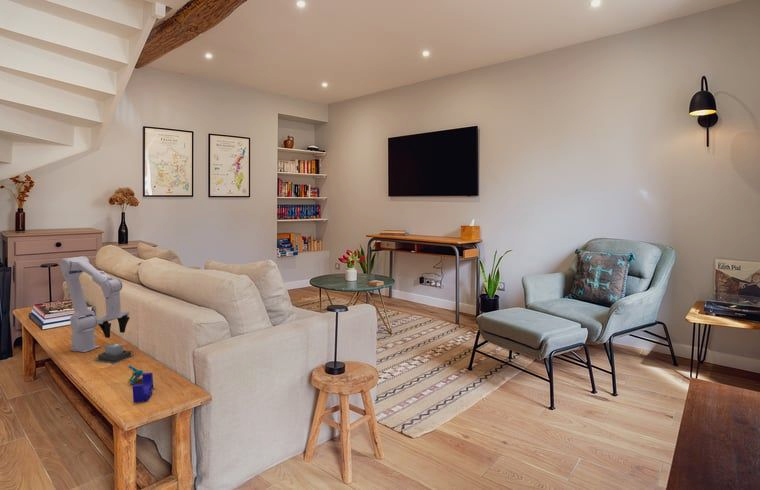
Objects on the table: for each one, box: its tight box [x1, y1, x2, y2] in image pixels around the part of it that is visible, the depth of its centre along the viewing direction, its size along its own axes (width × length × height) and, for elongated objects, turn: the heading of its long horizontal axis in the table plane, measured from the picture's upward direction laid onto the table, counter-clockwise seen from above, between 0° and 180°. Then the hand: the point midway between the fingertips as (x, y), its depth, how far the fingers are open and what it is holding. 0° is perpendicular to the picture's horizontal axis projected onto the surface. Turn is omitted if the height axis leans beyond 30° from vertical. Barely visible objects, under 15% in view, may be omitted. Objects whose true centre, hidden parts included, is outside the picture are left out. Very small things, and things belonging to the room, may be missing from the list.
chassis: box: [94, 349, 135, 365], centre depth 199 cm, size 11×10×2 cm
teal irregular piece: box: [128, 365, 145, 386], centre depth 173 cm, size 11×6×10 cm
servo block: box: [104, 342, 124, 356], centre depth 199 cm, size 6×4×6 cm, turn 71°
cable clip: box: [132, 372, 154, 403], centre depth 163 cm, size 12×4×6 cm, turn 10°
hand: (115, 334), depth 203 cm, fingers open, 7 cm apart
